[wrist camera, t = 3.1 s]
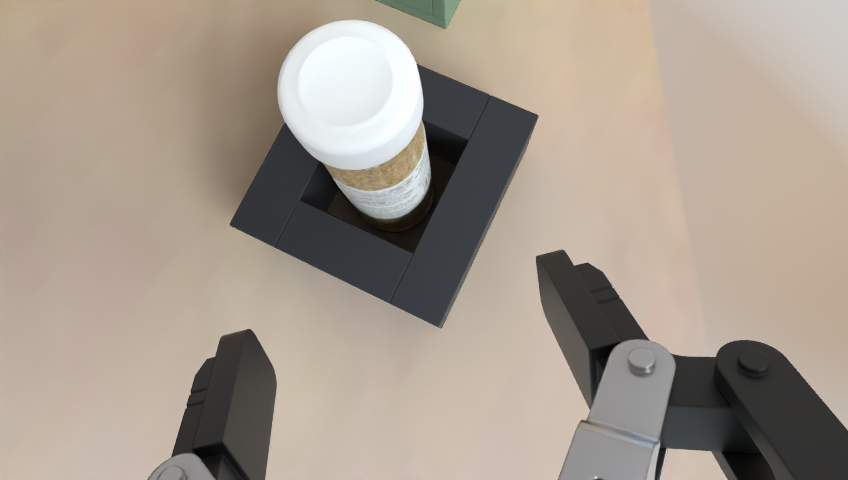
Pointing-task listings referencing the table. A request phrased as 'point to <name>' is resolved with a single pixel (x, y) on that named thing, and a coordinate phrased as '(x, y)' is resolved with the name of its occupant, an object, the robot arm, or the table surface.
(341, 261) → the holder
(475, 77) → the table surface
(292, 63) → the spice jar
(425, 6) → the tray
